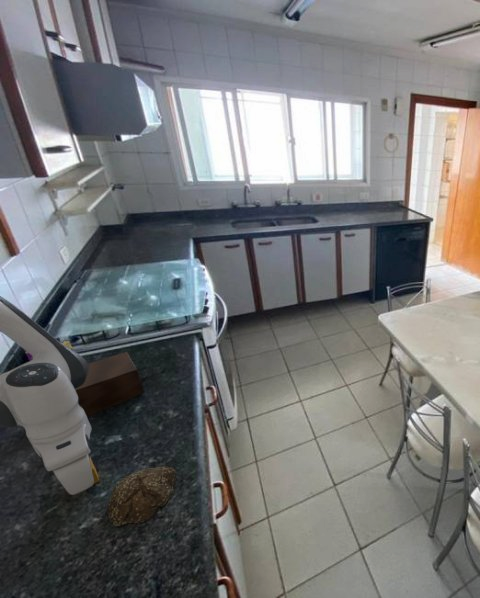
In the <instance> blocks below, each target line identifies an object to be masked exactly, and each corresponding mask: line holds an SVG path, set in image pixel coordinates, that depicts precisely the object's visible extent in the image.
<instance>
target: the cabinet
mask: <svg viewBox="0 0 480 598" xmlns="http://www.w3.org/2000/svg"><path fill="white" fill-rule="evenodd" d="M87 363H88V366H89V369H88V375H87V378H86V380H85V382H84V384H83V385H81V386H79V387H77V388H75V391H76V393H77V395H78V404H79V406H80V407H82V408H83V410H84V411H85V414H86V416H87V417H90V416H93V415H94V414H97V413H99V412H102V411H104V410H107V409H110V408H111V407H114V406H116V405H119V404H121V403H123V402H126V401H128V400H130V399H133V398H135V397H138V396H140V395H142V394H145V390H144V387H143V383H142V381H141V377H140V374H139V372H138V369H137V367H136V365H135V364H134V362H133V360H132V358H131V356H130V355H129V354H128V352H127V351H125V352H122V353H118V354H114V355H111V356H109V357H105V358H102V359H99V360H95V361H92V362H87Z"/></svg>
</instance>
